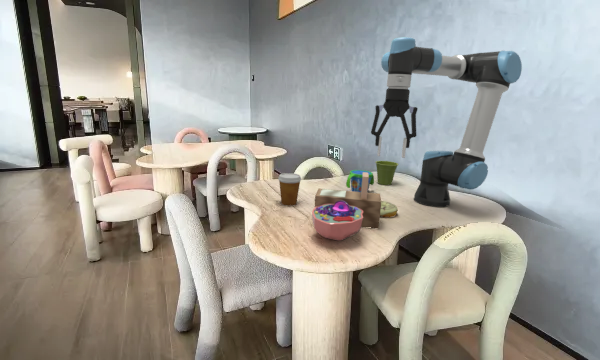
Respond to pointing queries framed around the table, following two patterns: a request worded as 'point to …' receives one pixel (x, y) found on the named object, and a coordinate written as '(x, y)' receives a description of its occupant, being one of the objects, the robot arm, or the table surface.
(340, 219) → the cell model
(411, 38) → the robot arm
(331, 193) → the block
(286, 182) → the disposable coffee cup
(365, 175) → the tile
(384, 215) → the decorated donut
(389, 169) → the plant pot
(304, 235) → the table surface
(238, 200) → the table surface
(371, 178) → the snack cup
